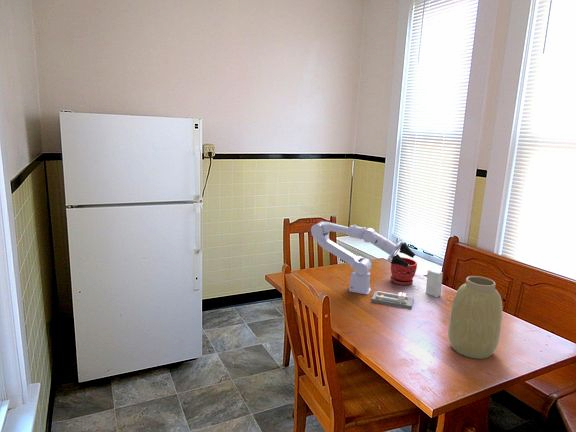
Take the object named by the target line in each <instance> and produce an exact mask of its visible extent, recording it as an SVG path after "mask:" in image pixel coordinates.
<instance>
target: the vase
mask: <svg viewBox="0 0 576 432" xmlns="http://www.w3.org/2000/svg"><path fill="white" fill-rule="evenodd" d="M496 284H497V283H496V282H495V281H494V280H493V279H490V278H488V277H484V276H480V275H479V276H476V275H469V276H467V277H466V278H465V283H463V284H462V285H461V286H459V287H458V289H457V290H456V292H455V294H454V298H453V301H452V304H451V308H450V309H451V310H450V314H449V321H448V331H447V336H448V340H449V343H450V346H451V348H452V349H453V350H454V351H456V353H458V354H460V355H462V356H465V357H467V358H472V359H479V360H481V359H482V360H483V359H487V358H490V357H491V356H492V355H493V354H494V353H495V351H496V350H497V348H498V346H499V342H500V338H501V337H500V336H501V333H502V332H501V330H502V322H503V299H502V297H501V294H500V293H499V292H498V290H497V289H496Z"/></svg>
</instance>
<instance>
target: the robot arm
mask: <svg viewBox="0 0 576 432" xmlns="http://www.w3.org/2000/svg"><path fill="white" fill-rule="evenodd" d="M310 232H311V236H312V237H313V238H314V239H315V241H316V243H317V244H318V246H320V247H321V248H322V249H323V250H325V251H327V252H329V253H331V254H332V255H334V256H335V257H336V258H338V259H340V260H342V261H343V262H345V263H347V264H349V266H350V268H351V270H353V271H352V272H351V274H350V277H349V289H348V291H349V292H352V293H357V294H363V295H369V294H370V292H371V290H372V288H371V287H370V281H371V271H370V270H371V269H372V266H373V262H372V261H371V259H369V258H366V257H362V256H360V255H355V254H354V253H352V252H351V251H349V250H348V249H345V248H344V247H342V246H340V245H339V244H337V243H336V242H334V241H333V240H331V239H330V237H329V236H330V235H329V232H335V233H340V234H346V235H347V236H348V237H349V238H354V239H357V240H363V242H364V243H370V244H371V245H373V246H375V247H376V248H378V249H379V250H381V251H382V252H384V253H386V254H387V255H389V256H388V258H386V261H387V262H389V263H390V265H391V264H397V265H401V266H404V267H408V265H409V263H408V262H406V261H405V260H403V259H402V258H401V257H402V256H400V255H399V254H398V252H399V253H401V254H404V255H406V256H408V257H409V258H412V259H413V258H414V257H415V255H416V254H415V252H413V250H412V249H410V247H409V246H408V245H407V243H406V242H404V241H402V240H400V241H399V242H398V243H397V244H396V243H394V242H392V241H391V240H390V239H388V238H386V237H385V236H383V235H381V234H379V233H377V232H376V230H375V229H374V228H372V227H366V226H363V227H361V226H357V224H353V225H349V226H346V225H342V224H341V225H340V224H337V223H334V222H330V221H324V220H322V221H319V222H318V223H316V224H313V225H312V226H311V228H310ZM391 261H392V262H391Z"/></svg>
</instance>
